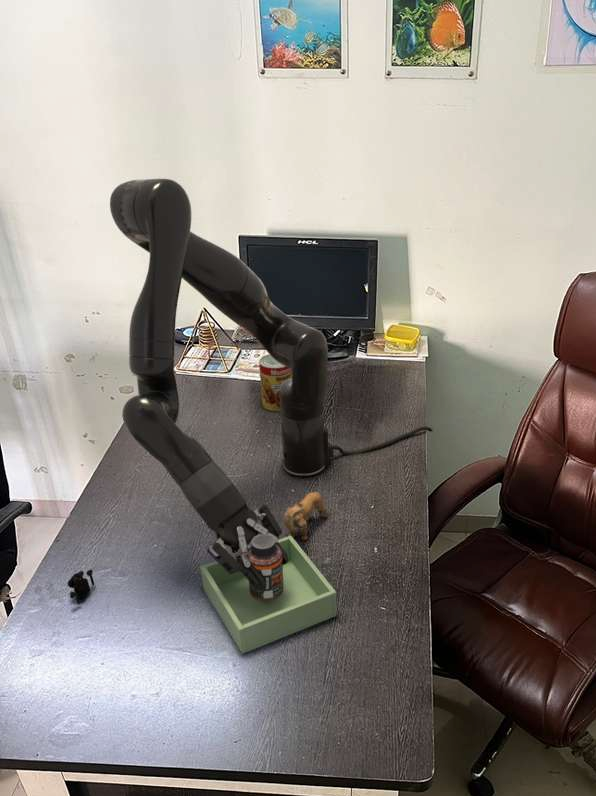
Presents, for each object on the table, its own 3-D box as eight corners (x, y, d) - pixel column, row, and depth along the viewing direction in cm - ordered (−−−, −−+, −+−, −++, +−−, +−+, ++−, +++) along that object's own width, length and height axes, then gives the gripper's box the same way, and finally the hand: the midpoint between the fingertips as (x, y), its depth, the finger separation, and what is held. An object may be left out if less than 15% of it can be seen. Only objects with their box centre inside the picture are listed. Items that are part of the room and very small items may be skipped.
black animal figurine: (77, 610, 129) (71, 589, 126) (64, 608, 129) (57, 586, 126) (98, 583, 134) (92, 562, 131) (85, 581, 135) (79, 560, 132)
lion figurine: (305, 554, 142) (303, 516, 137) (279, 548, 143) (276, 511, 138) (331, 510, 153) (330, 474, 148) (307, 505, 155) (305, 469, 149)
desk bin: (292, 558, 141) (290, 535, 138) (336, 615, 129) (336, 592, 126) (203, 589, 133) (200, 566, 130) (242, 654, 121) (239, 630, 118)
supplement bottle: (278, 605, 127) (274, 555, 120) (244, 600, 128) (239, 549, 121) (288, 582, 131) (285, 532, 125) (256, 577, 132) (251, 527, 126)
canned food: (281, 414, 185) (278, 370, 178) (256, 405, 188) (252, 362, 181) (299, 401, 191) (297, 358, 183) (274, 393, 194) (272, 350, 187)
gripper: (193, 509, 116) (258, 593, 118) (251, 466, 126) (310, 544, 128) (172, 524, 121) (235, 604, 124) (229, 482, 131) (287, 557, 134)
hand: (273, 573), depth 126 cm, fingers closed on supplement bottle, 6 cm apart
